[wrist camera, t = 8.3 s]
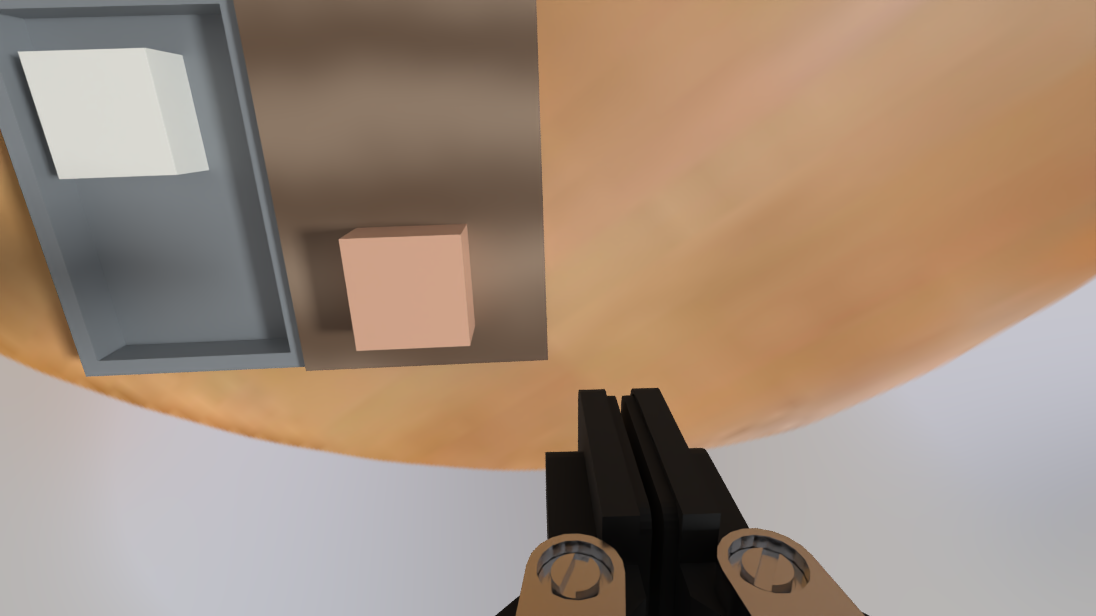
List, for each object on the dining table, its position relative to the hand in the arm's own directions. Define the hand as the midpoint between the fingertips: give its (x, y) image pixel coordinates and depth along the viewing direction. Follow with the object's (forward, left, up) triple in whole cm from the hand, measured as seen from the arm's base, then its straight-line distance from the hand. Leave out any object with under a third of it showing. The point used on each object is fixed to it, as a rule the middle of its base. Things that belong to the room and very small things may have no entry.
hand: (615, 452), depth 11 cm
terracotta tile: (0, -7, -15) cm, 16 cm away
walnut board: (-4, -7, -18) cm, 20 cm away
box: (-4, -18, -18) cm, 26 cm away
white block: (-7, -19, -15) cm, 25 cm away
